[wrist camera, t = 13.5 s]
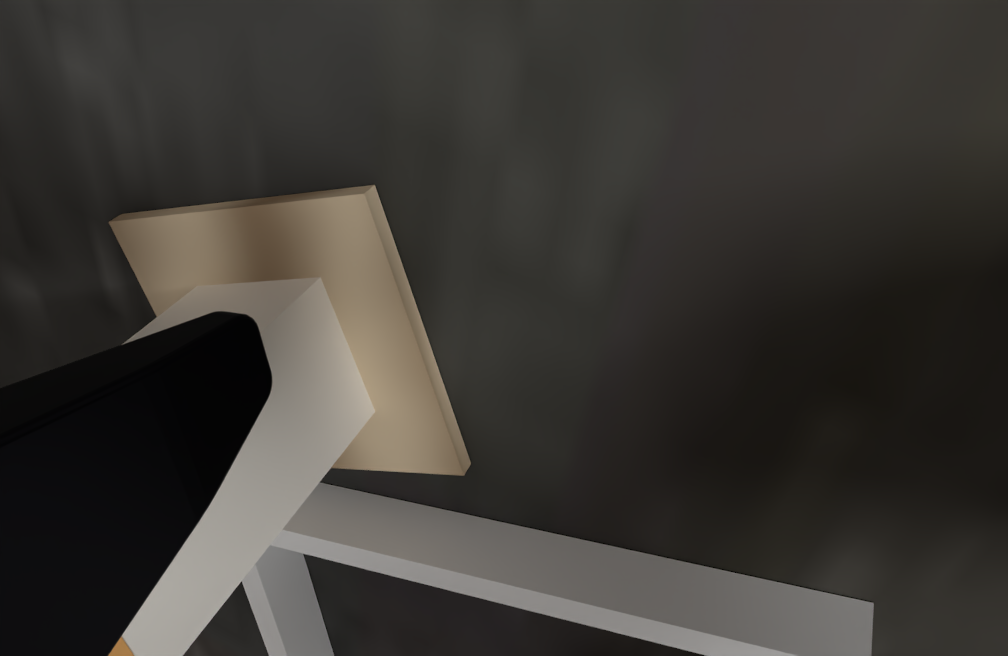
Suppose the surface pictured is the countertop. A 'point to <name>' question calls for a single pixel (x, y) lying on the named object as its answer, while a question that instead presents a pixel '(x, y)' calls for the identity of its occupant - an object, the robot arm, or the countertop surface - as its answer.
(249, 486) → the module
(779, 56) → the countertop surface
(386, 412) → the pad
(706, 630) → the grey angled frame
